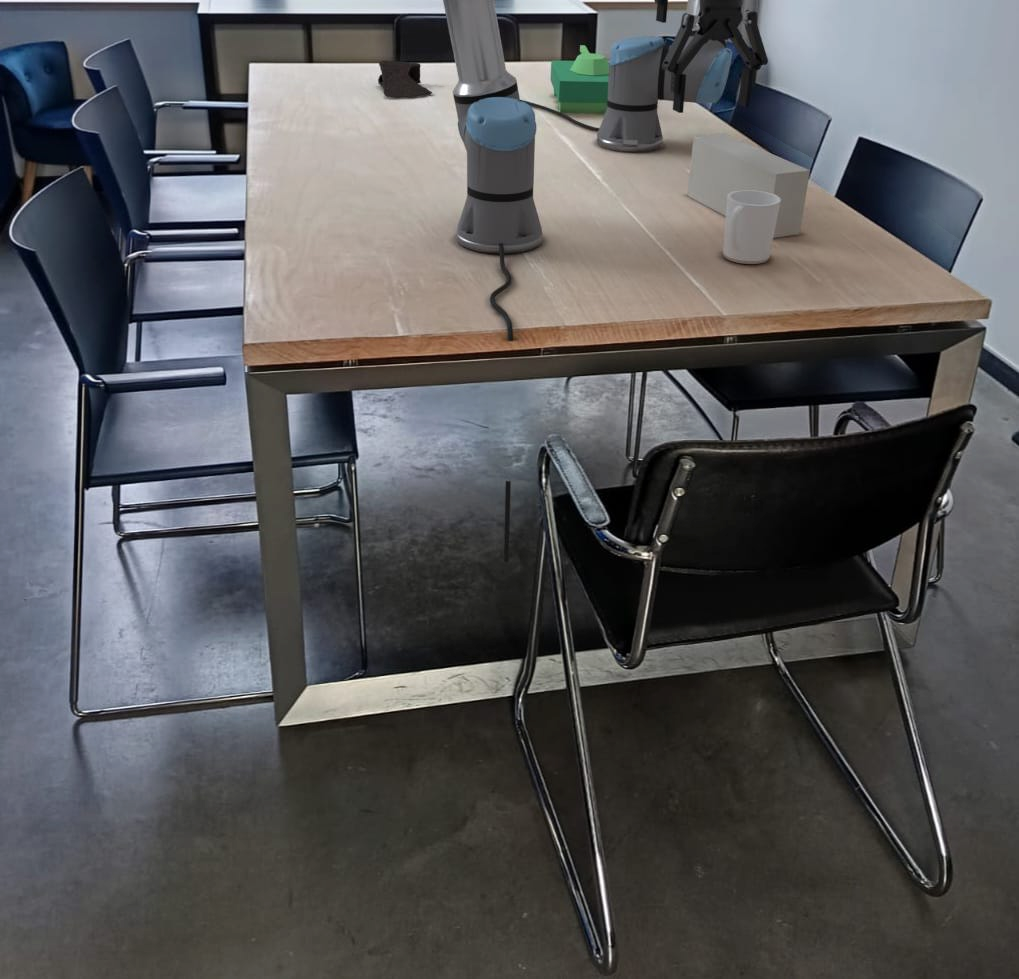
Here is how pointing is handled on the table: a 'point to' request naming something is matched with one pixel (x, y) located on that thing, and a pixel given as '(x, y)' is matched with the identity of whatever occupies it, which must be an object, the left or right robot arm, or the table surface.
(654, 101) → the right robot arm
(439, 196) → the table surface
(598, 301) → the table surface
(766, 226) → the mug
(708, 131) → the table surface
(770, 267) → the table surface
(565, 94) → the toy tank
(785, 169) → the box
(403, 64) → the axe head
